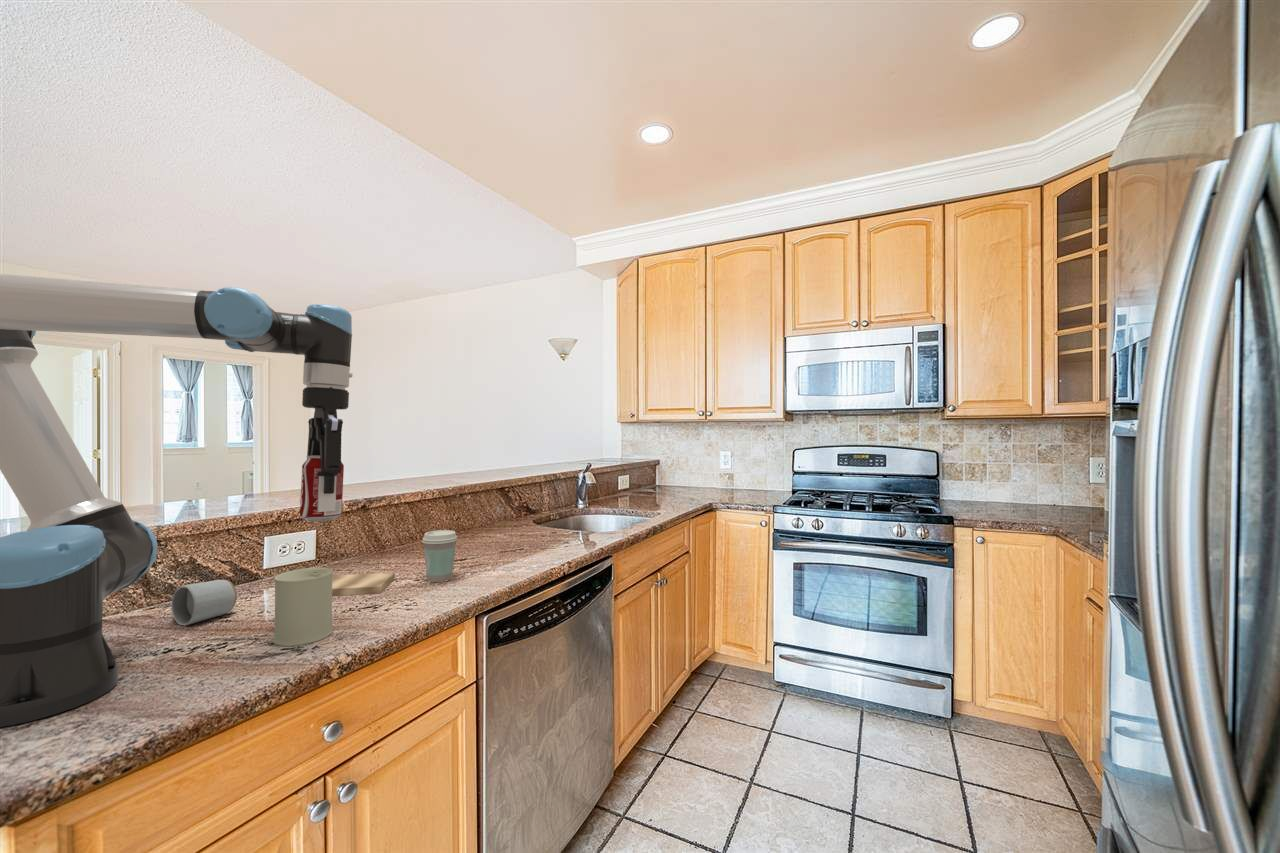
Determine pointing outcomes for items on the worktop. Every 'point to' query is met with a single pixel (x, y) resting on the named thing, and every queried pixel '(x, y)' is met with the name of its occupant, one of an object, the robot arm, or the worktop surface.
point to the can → (303, 606)
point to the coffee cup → (439, 554)
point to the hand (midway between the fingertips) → (321, 508)
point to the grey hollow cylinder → (203, 601)
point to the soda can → (311, 492)
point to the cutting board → (360, 583)
